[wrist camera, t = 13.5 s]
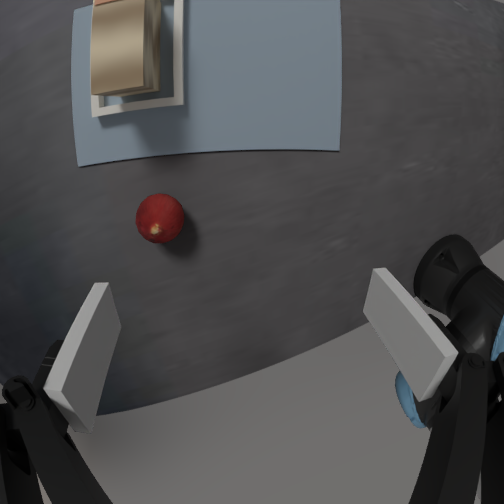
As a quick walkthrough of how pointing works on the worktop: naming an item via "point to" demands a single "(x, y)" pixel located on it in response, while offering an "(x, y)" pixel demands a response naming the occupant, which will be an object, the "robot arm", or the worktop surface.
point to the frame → (178, 75)
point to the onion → (159, 218)
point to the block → (125, 47)
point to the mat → (224, 83)
